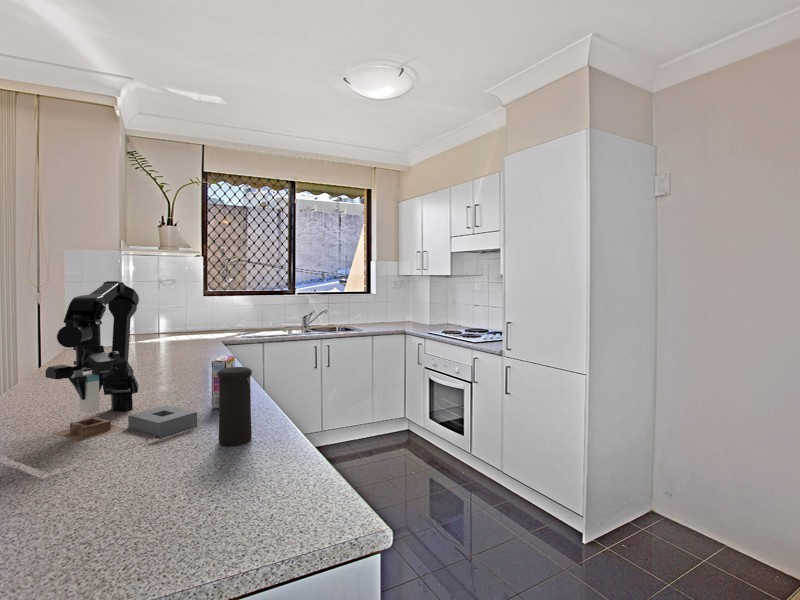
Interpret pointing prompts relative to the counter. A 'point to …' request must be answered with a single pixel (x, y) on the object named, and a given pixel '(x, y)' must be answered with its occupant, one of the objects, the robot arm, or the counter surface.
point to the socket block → (163, 421)
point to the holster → (89, 429)
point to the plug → (91, 394)
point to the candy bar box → (216, 367)
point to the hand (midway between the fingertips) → (89, 398)
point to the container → (234, 406)
